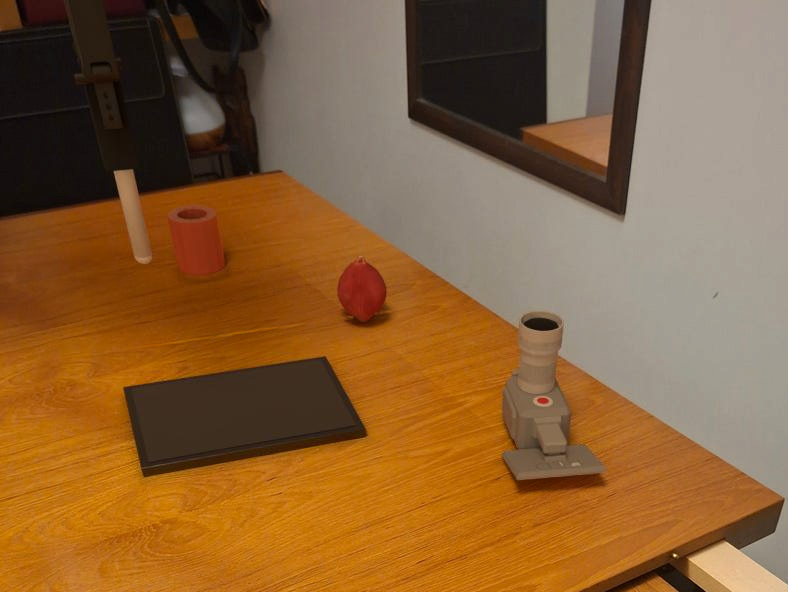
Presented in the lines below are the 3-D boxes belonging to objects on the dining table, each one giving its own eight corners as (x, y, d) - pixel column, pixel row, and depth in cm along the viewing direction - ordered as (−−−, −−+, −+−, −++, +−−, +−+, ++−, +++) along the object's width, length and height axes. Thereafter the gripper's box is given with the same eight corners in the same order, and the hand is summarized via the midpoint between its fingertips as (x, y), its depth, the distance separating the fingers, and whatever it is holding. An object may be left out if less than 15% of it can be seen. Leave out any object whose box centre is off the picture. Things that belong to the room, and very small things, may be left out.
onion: (330, 319, 110) (324, 253, 104) (367, 306, 113) (363, 241, 107) (359, 336, 107) (354, 269, 101) (396, 322, 110) (394, 256, 104)
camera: (576, 303, 88) (621, 381, 78) (564, 408, 97) (603, 491, 86) (490, 307, 87) (524, 388, 77) (485, 414, 95) (515, 499, 85)
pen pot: (175, 262, 120) (164, 207, 115) (221, 257, 122) (212, 203, 117) (182, 280, 116) (170, 225, 111) (229, 275, 118) (220, 219, 113)
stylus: (134, 261, 83) (85, 59, 72) (153, 258, 83) (107, 58, 72) (137, 267, 82) (87, 64, 71) (155, 265, 82) (109, 62, 71)
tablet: (125, 395, 96) (122, 386, 95) (326, 363, 102) (325, 355, 101) (143, 477, 85) (140, 467, 85) (366, 436, 91) (365, 427, 91)
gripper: (100, -211, 56) (179, 188, 73) (80, -219, 66) (154, 135, 82) (-30, -214, 54) (82, 198, 71) (-31, -222, 64) (68, 142, 80)
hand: (120, 163), depth 77 cm, fingers closed on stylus, 2 cm apart
